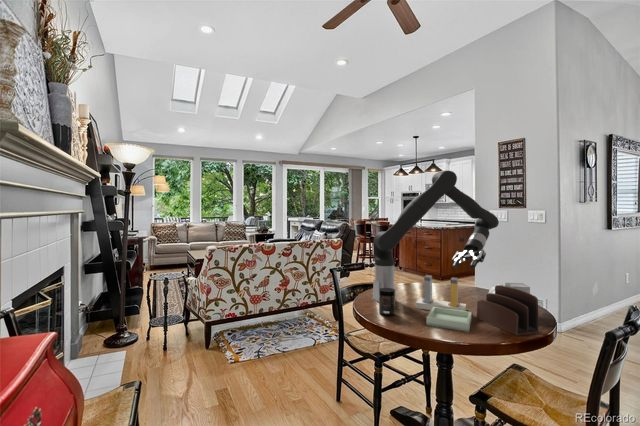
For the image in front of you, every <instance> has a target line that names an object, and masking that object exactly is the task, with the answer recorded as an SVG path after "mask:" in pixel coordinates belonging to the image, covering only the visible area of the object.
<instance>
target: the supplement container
mask: <svg viewBox="0 0 640 426" xmlns="http://www.w3.org/2000/svg"><path fill="white" fill-rule="evenodd" d="M378 313H379V314H380V315H381V316H383V317H393V316H394V315H395V314H396V289H395V288H394V289H392V288H380V289H379V302H378Z"/></svg>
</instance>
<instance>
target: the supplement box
mask: <svg viewBox="0 0 640 426" xmlns="http://www.w3.org/2000/svg"><path fill="white" fill-rule="evenodd" d="M504 284H505V285H504V286H507V287H511V288H515V289H518V290H521V291H524V292H527V293H529V294H531V287H530V286H529V285H527V284H525V283H523V282H505V283H504Z"/></svg>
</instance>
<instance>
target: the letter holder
mask: <svg viewBox="0 0 640 426" xmlns="http://www.w3.org/2000/svg"><path fill="white" fill-rule="evenodd" d="M500 285H501V284H500ZM500 285H497V284H496V285H494V286H495V294H493V293H489V292H487V293H486V295H485V296H486V298H485V299H477V302H476V318H477V319H478V320H480V321H483V322H485V323H487V324H489V325H491V326H493V327H496V328H497V329H498V328H499V329H500V330H502V331H505V332H507V333H509V334H511V335H514V336H516V337H522V336H529V335H535V334H536V333H537V334H539V331H540V330H539V329H540V328H539V299H538V297H537V296H536V295H533V294H531V293H530V294H529V293H527V292H524V291H521V290H518V289H515V288H511V287H507V286H505V285H503V286H500Z"/></svg>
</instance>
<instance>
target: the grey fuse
mask: <svg viewBox="0 0 640 426" xmlns="http://www.w3.org/2000/svg"><path fill="white" fill-rule="evenodd" d="M423 281H424V284H423V285H424V286H423V289H424V291H423V298H424V303H428V304H431V301H432V300H433V275H430V274H425V275H424V279H423Z"/></svg>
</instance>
